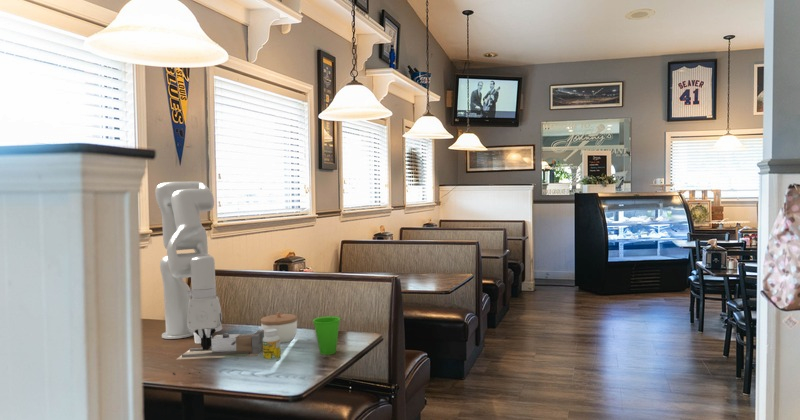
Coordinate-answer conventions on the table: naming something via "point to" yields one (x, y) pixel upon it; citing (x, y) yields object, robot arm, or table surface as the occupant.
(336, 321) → the cup
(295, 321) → the lidded bowl
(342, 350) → the table surface
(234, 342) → the knobbed grey slider
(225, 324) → the table surface
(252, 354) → the gauge bed
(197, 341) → the shot glass
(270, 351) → the supplement bottle
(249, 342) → the walnut block
